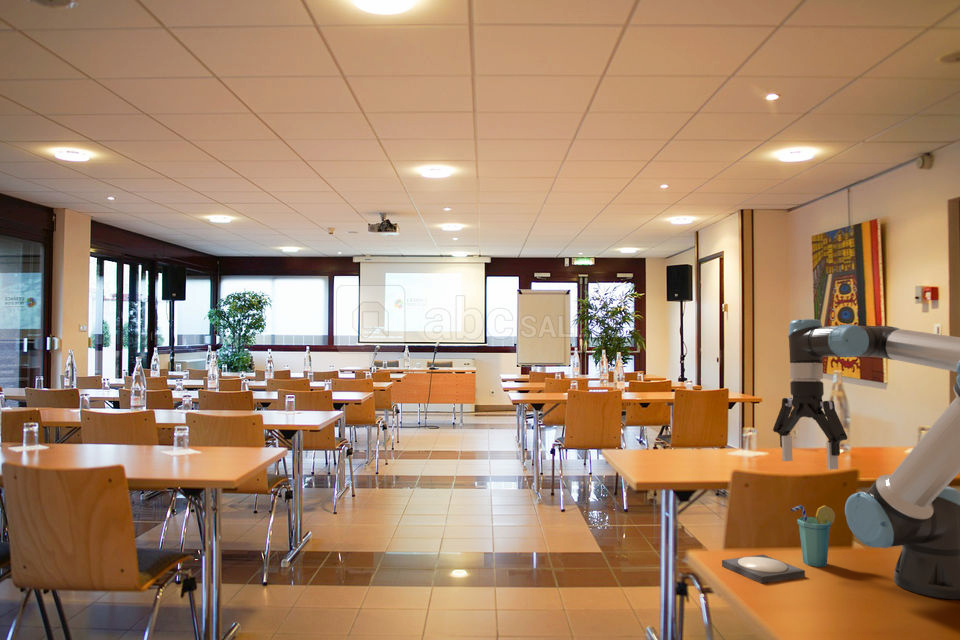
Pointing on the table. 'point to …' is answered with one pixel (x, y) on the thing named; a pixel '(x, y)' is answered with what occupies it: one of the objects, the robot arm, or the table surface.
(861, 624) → the table surface
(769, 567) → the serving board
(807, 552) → the cup
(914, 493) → the robot arm
